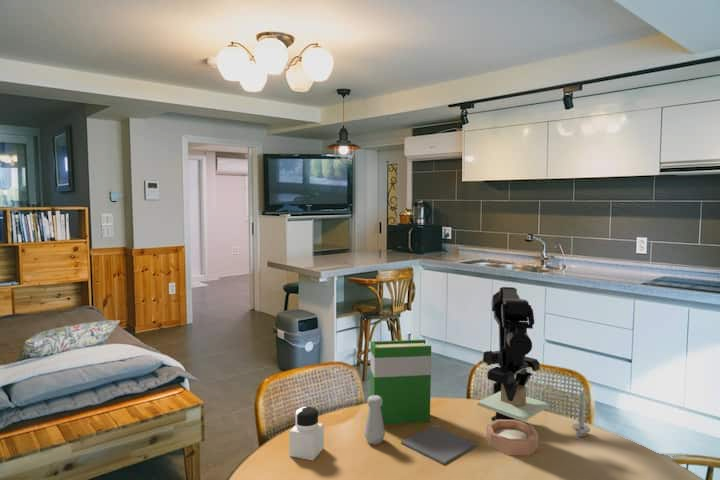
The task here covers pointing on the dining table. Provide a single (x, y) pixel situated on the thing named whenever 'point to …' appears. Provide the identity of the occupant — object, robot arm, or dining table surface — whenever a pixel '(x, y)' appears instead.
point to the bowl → (512, 437)
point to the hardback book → (401, 380)
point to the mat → (439, 444)
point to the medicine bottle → (306, 435)
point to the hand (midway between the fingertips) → (513, 399)
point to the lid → (514, 404)
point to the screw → (581, 418)
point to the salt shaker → (374, 421)
